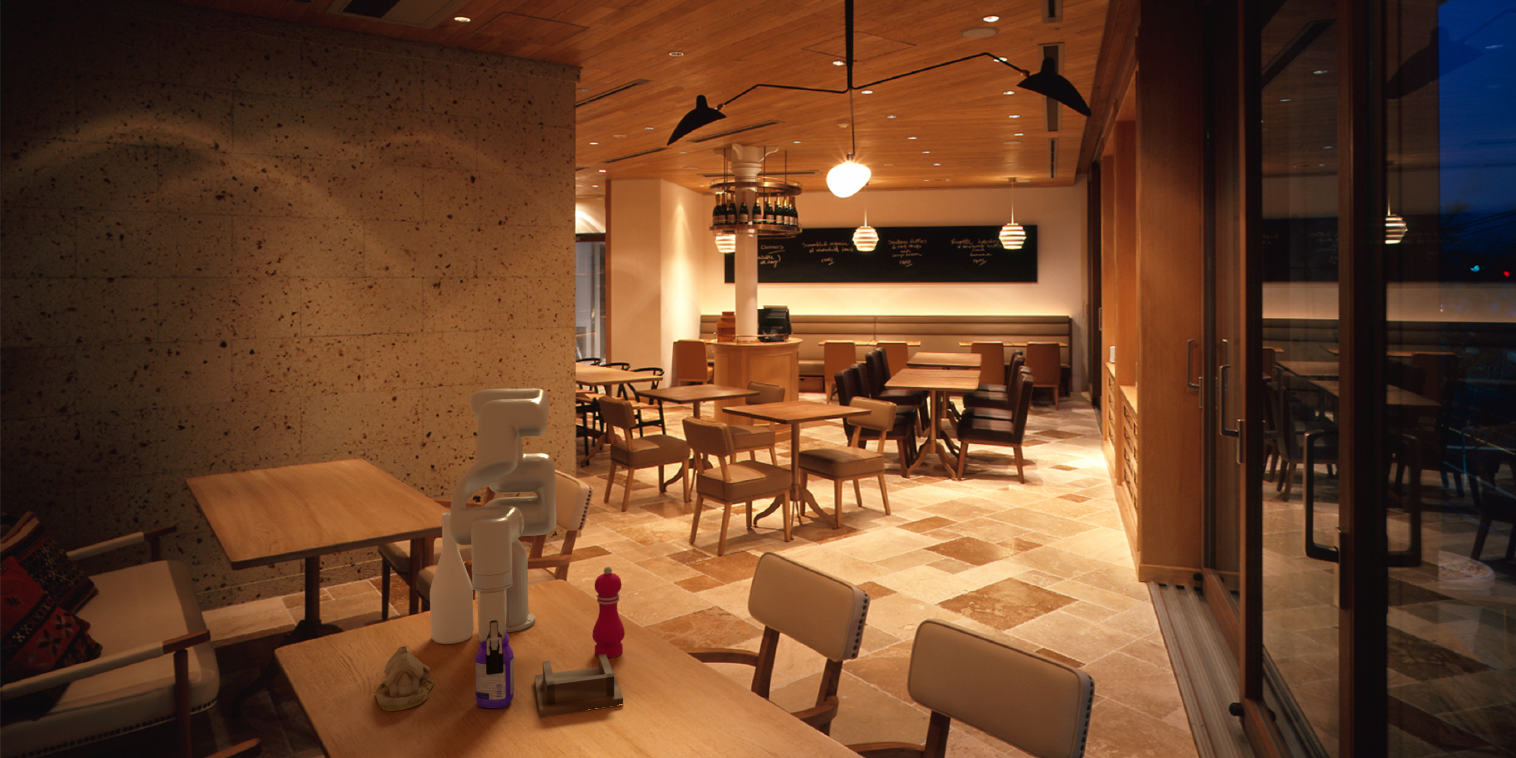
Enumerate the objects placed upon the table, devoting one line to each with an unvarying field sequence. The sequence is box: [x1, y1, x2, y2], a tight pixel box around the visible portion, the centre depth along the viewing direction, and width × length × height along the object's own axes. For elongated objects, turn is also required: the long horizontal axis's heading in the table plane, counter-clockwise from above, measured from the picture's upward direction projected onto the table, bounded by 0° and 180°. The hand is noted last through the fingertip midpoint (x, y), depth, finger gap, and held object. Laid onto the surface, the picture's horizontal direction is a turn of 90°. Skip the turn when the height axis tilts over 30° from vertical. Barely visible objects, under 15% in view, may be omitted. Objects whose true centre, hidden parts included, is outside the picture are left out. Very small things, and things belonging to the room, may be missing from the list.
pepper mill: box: [592, 566, 626, 659], centre depth 194 cm, size 7×7×20 cm
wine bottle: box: [429, 511, 475, 645], centre depth 202 cm, size 10×10×30 cm
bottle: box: [474, 624, 515, 709], centre depth 169 cm, size 7×6×17 cm
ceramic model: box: [375, 646, 435, 712], centre depth 173 cm, size 14×11×10 cm
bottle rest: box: [534, 654, 624, 718], centre depth 174 cm, size 16×16×6 cm
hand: (494, 663), depth 169 cm, fingers open, 9 cm apart
